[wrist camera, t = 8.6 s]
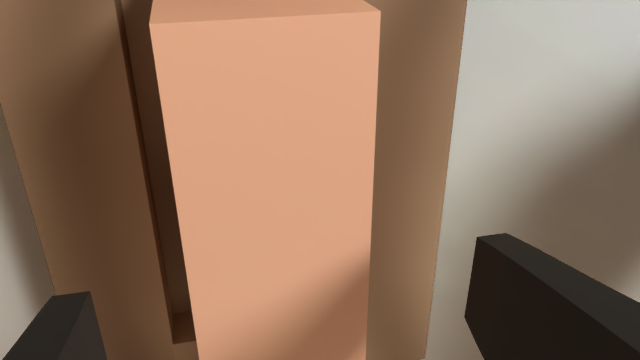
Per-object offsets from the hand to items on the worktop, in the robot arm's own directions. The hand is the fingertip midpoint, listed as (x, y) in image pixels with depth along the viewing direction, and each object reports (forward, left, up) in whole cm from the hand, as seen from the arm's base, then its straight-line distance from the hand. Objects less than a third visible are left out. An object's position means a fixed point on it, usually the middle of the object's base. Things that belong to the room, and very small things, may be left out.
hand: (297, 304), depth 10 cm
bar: (0, 0, -8) cm, 8 cm away
